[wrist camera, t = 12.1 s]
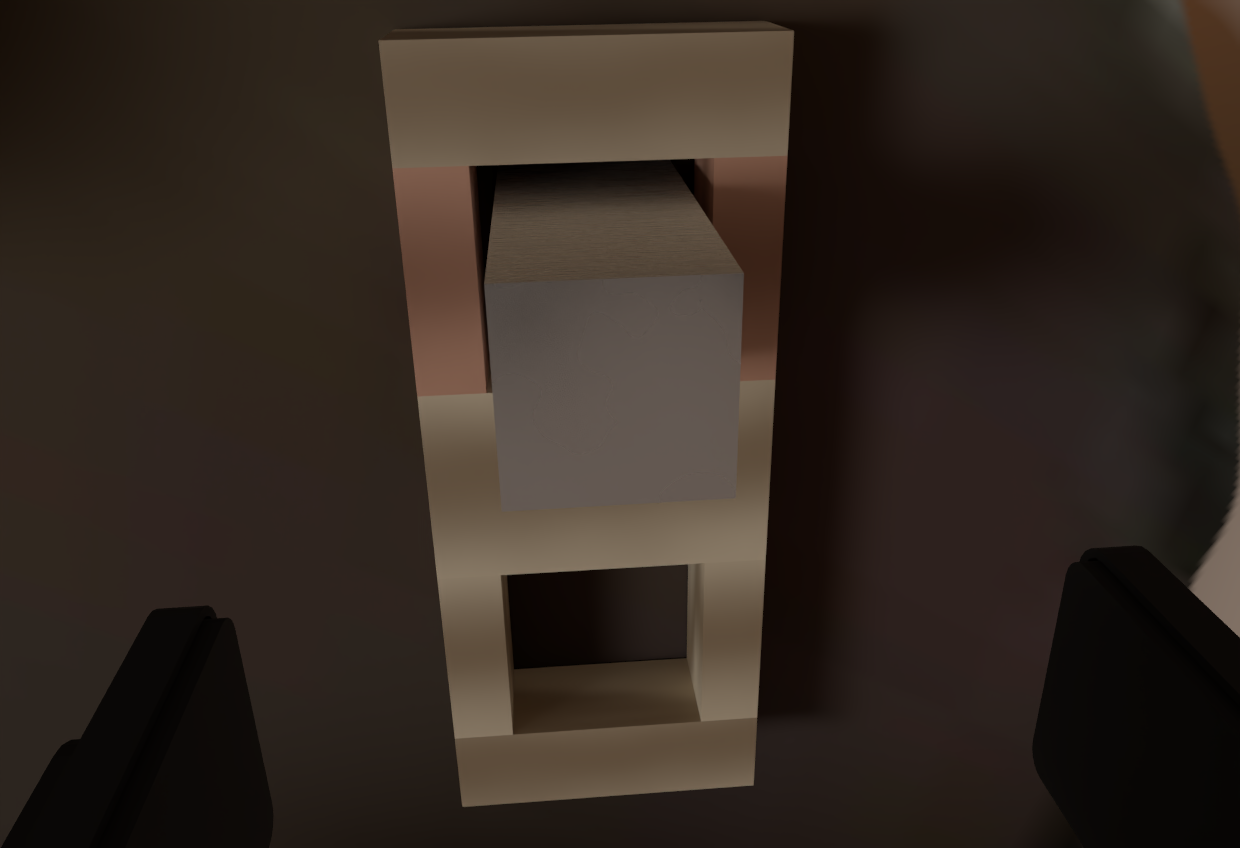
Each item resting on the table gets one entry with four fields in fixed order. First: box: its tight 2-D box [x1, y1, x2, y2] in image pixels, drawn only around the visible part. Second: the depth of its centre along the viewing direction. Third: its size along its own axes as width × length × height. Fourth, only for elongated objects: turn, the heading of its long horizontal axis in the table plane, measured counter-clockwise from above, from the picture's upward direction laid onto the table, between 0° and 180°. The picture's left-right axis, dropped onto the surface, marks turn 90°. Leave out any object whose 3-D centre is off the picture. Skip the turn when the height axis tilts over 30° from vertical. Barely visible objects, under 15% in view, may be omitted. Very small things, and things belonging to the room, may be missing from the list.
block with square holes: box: [379, 21, 794, 807], centre depth 28 cm, size 22×9×3 cm, turn 1°
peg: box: [484, 160, 744, 512], centre depth 23 cm, size 4×4×10 cm
